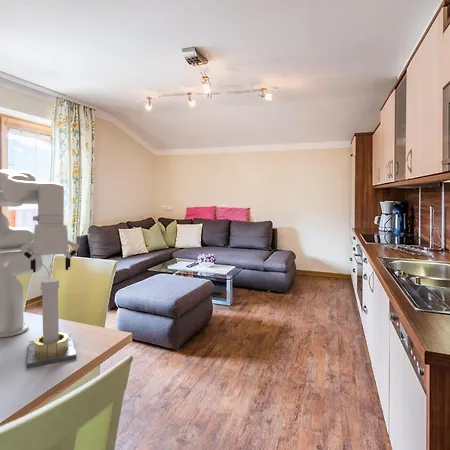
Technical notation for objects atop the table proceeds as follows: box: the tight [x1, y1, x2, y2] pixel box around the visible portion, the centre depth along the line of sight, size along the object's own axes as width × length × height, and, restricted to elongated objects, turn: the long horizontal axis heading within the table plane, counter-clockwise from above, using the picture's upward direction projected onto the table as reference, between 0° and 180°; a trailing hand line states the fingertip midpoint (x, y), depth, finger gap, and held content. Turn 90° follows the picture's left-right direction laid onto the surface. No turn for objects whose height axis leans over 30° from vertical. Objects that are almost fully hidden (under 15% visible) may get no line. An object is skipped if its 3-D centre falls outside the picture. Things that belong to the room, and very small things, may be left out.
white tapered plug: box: [40, 262, 60, 343], centre depth 108 cm, size 6×6×30 cm
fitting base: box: [26, 332, 77, 369], centre depth 111 cm, size 18×14×6 cm
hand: (50, 270), depth 107 cm, fingers open, 9 cm apart
